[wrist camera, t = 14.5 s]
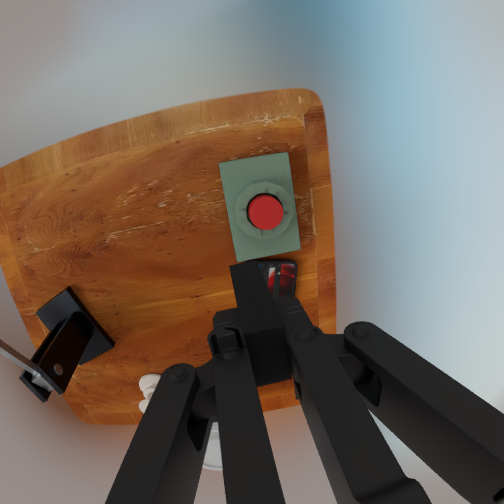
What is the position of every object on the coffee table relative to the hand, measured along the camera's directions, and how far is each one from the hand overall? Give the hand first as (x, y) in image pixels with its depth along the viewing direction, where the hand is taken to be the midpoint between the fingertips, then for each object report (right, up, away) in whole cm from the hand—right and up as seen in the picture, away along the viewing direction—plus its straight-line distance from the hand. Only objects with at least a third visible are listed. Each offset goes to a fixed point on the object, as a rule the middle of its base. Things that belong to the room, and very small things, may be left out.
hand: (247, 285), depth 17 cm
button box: (+1, +8, +21) cm, 22 cm away
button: (+2, +6, +18) cm, 19 cm away
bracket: (-26, -9, +23) cm, 36 cm away
